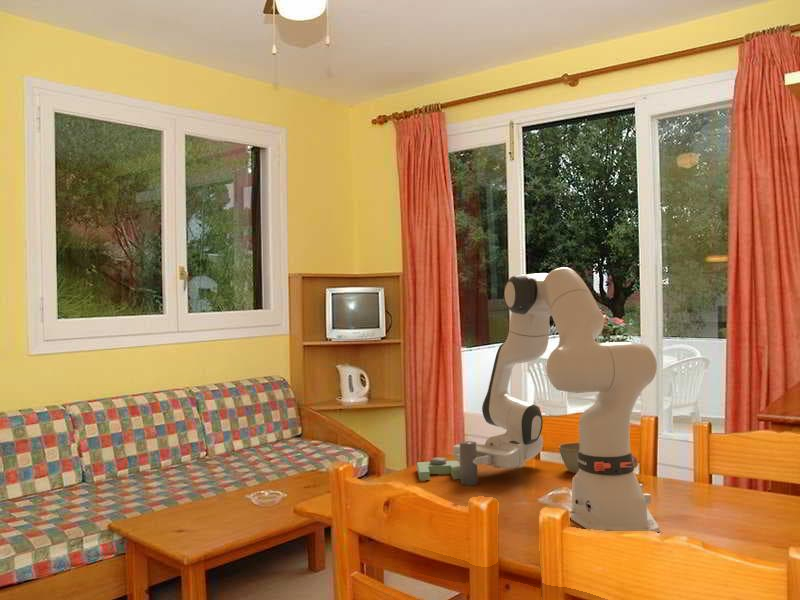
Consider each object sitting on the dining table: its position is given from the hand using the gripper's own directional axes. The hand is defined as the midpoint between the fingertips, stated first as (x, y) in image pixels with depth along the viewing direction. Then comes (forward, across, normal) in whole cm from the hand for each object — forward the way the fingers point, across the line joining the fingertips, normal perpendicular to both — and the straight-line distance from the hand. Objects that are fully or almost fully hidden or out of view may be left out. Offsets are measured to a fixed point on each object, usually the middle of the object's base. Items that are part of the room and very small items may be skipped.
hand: (466, 459), depth 194 cm
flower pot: (-30, +14, +7) cm, 34 cm away
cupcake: (-31, +28, +7) cm, 42 cm away
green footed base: (-3, -13, +6) cm, 15 cm away
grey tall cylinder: (-1, 0, +6) cm, 7 cm away
